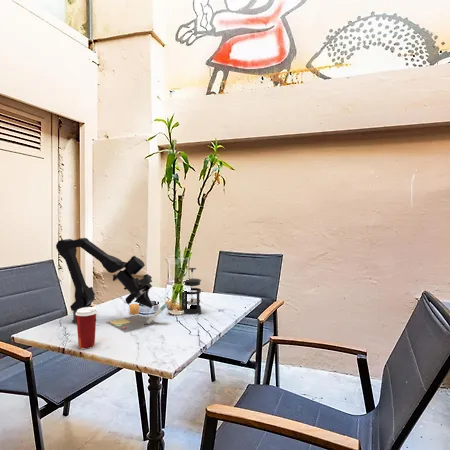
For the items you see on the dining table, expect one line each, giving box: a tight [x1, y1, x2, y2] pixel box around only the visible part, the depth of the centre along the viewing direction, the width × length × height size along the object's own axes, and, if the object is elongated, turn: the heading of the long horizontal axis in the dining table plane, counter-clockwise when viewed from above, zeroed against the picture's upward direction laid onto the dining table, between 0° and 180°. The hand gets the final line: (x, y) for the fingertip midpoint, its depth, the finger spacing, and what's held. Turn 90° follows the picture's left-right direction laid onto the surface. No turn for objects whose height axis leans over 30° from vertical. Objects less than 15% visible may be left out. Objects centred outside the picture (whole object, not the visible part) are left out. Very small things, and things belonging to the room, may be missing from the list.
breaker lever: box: [146, 303, 169, 324], centre depth 153 cm, size 2×3×11 cm
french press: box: [181, 267, 202, 316], centre depth 171 cm, size 12×9×23 cm
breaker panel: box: [105, 314, 160, 333], centre depth 154 cm, size 17×18×1 cm
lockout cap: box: [129, 303, 140, 316], centre depth 168 cm, size 4×4×5 cm
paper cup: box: [75, 306, 98, 349], centre depth 129 cm, size 8×8×14 cm
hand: (151, 306), depth 153 cm, fingers closed
